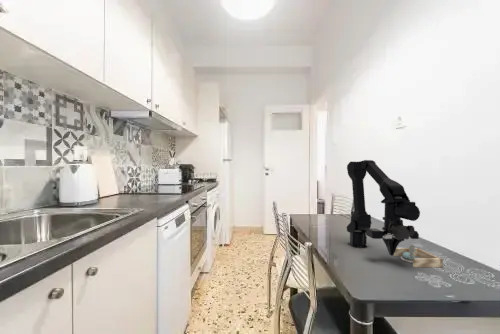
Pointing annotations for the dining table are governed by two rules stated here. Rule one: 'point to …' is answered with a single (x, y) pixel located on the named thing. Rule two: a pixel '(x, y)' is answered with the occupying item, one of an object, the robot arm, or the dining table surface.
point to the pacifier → (406, 254)
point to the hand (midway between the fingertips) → (391, 255)
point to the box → (425, 259)
